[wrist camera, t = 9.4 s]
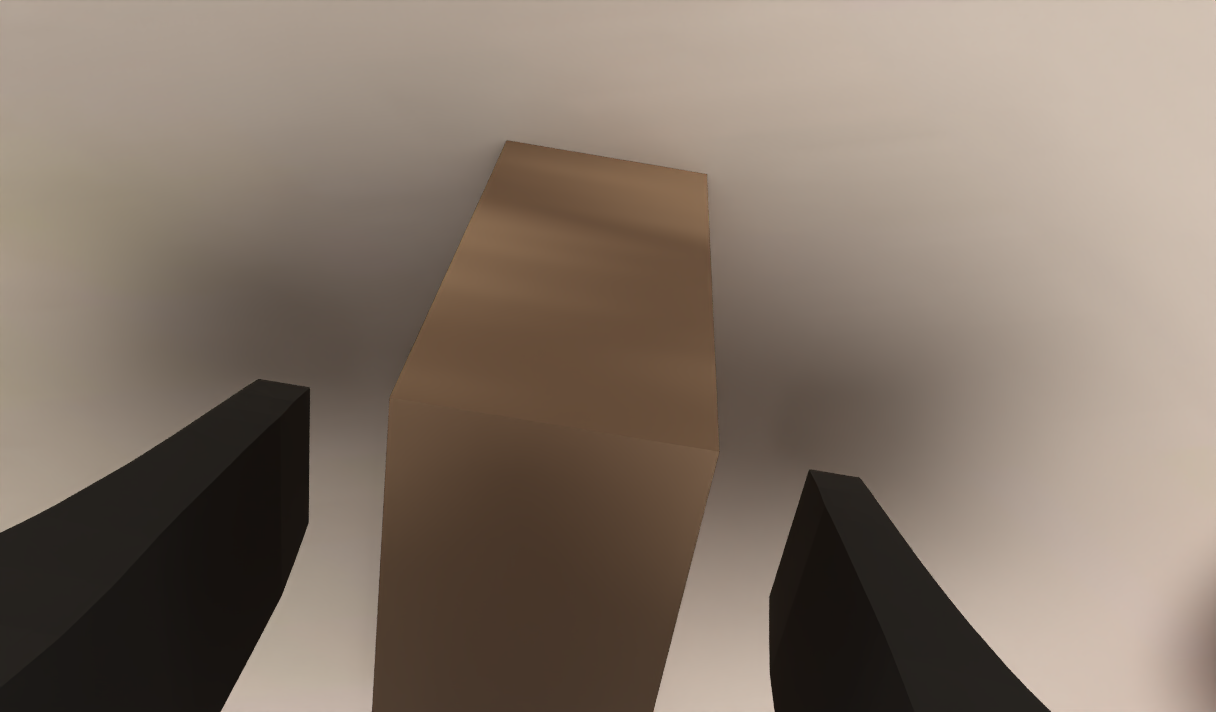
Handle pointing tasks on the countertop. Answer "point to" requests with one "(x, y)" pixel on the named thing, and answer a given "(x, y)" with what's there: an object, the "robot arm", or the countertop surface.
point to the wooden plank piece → (551, 445)
